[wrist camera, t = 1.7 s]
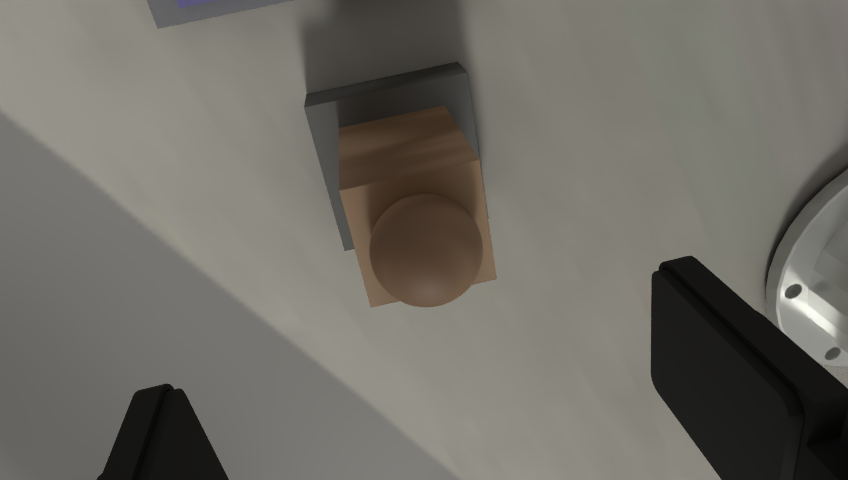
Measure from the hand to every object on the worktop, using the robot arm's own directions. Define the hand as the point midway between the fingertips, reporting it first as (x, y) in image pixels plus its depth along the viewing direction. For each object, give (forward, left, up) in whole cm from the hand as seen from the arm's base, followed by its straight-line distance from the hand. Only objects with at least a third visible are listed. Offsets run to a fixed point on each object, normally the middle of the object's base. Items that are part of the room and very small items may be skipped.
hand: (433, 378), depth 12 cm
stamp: (-1, 0, -14) cm, 14 cm away
